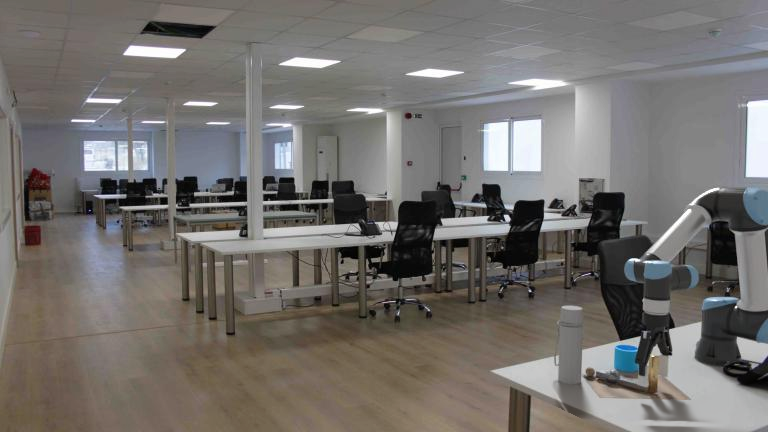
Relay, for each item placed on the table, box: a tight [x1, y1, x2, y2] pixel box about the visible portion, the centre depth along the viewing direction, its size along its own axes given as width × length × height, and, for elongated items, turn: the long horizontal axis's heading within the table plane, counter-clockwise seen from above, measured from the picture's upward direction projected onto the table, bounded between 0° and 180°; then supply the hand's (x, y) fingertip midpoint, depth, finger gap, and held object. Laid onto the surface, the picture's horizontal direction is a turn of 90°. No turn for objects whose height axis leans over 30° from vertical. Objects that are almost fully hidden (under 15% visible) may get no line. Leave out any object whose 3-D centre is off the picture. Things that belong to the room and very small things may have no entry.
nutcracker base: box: [581, 366, 691, 401], centre depth 202 cm, size 27×21×4 cm
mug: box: [613, 344, 639, 372], centre depth 221 cm, size 12×8×8 cm
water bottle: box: [553, 305, 584, 385], centre depth 207 cm, size 9×8×25 cm
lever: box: [595, 354, 659, 393], centre depth 201 cm, size 20×4×11 cm, turn 42°
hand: (653, 380), depth 195 cm, fingers open, 13 cm apart
